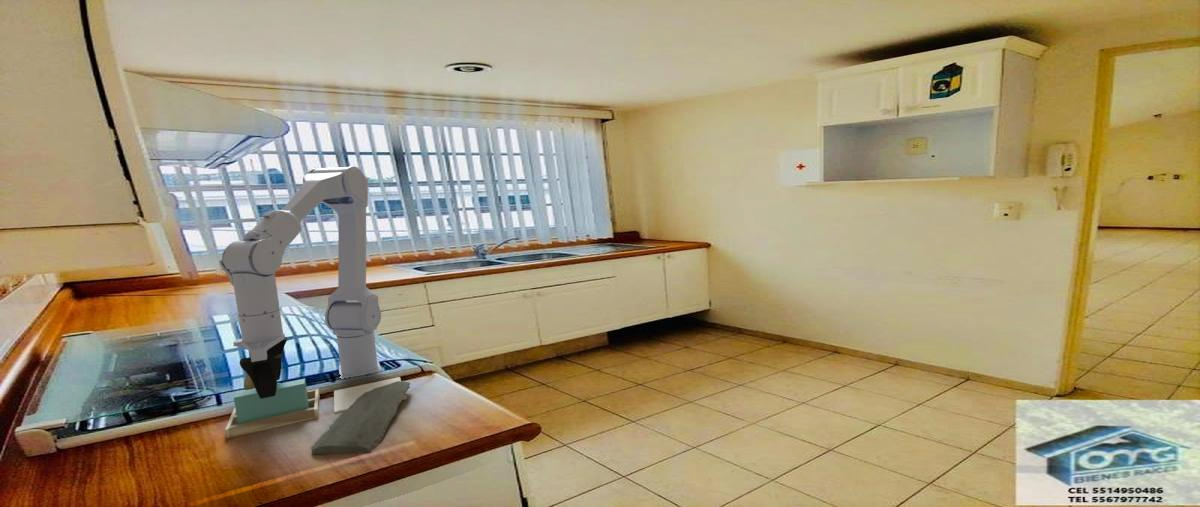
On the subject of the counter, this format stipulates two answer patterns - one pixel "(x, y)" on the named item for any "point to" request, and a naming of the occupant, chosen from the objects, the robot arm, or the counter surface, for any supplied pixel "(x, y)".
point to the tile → (357, 394)
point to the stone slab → (363, 421)
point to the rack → (274, 418)
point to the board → (271, 402)
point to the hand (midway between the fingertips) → (270, 388)
